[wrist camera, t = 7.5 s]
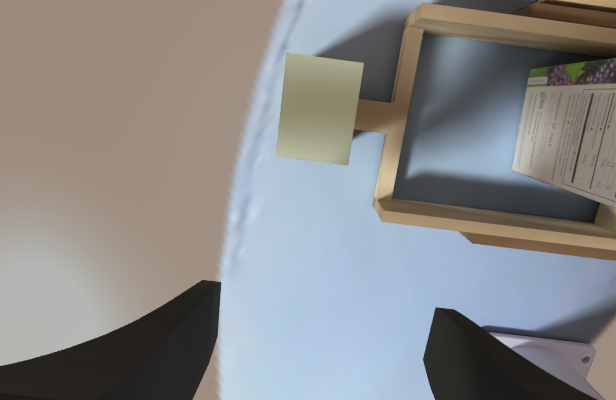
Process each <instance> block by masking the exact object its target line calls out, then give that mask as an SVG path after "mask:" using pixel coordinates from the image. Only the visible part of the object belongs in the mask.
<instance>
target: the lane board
mask: <svg viewBox="0 0 616 400" xmlns="http://www.w3.org/2000/svg"><path fill="white" fill-rule="evenodd" d="M512 15H518V16H525V17H533V18H540V19H547V20H555V21H562V22H569V23H577V24H584V25H591V26H599V27H606V28H613V29H616V13H609V12H602V11H594V10H587V9H580V8H573V7H565V6H558V5H551V4H543V3H536V2H535V3H532V4H530V5H528V6H526V7H524V8H521V9H519V10H517V11H515V12H512ZM459 232H460V233H461V234H462V235H463V236H465V237H466V238H467V239H468V240H469V241H470V242H471V243H474V244H482V245H491V246H499V247H507V248H515V249H523V250H532V251H540V252H548V253H556V254H564V255H573V256H581V257H589V258H597V259H605V260H614V261H616V250H608V249H600V248H592V247H584V246H576V245H568V244H559V243H551V242H543V241H535V240H527V239H519V238H510V237H502V236H494V235H486V234H478V233H470V232H461V231H459Z"/></svg>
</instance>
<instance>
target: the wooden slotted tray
mask: <svg viewBox="0 0 616 400" xmlns="http://www.w3.org/2000/svg"><path fill="white" fill-rule="evenodd" d="M423 33H426V34H433V35H441V36H448V37H456V38H463V39H470V40H478V41H485V42H493V43H500V44H508V45H515V46H523V47H530V48H537V49H545V50H552V51H560V52H567V53H575V54H582V55H590V56H597V57H605V58H616V29H613V28H606V27H599V26H591V25H584V24H577V23H569V22H562V21H555V20H547V19H540V18H533V17H525V16H518V15H511V14H503V13H496V12H489V11H481V10H474V9H466V8H459V7H452V6H444V5H437V4H430V3H422V4H421V5H420V6H419V7H418V8H417V9H415V10H414V11H413V12H412V13H411V14H410V15H409V16H408V17H407V18H406V21H405V26H404V32H403V38H402V43H401V49H400V54H399V60H398V66H397V71H396V77H395V83H394V88H393V94H392V99H391V103H389V102H381V101H373V100H366V99H359V92H360V86H361V79H362V73H363V66H364V63H360V62H353V61H345V60H338V59H330V58H322V57H315V56H307V55H300V54H292V53H286V63H285V73H284V82H283V92H282V102H281V112H280V122H279V131H278V141H277V151H276V156H279V157H287V158H295V159H303V160H311V161H318V162H326V163H334V164H342V165H348V163H349V157H350V150H351V144H352V137H353V131H354V129H355V130H363V131H370V132H378V133H385V139H384V144H383V150H382V156H381V161H380V167H379V172H378V178H377V184H376V189H375V195H374V200H373V207H374V209H375V211H376V212H377V214H378V216H379V217H380V219H381V221H382V222H388V223H396V224H404V225H412V226H421V227H429V228H437V229H445V230H453V231H461V232H470V233H478V234H486V235H494V236H502V237H510V238H519V239H527V240H535V241H543V242H551V243H559V244H568V245H576V246H584V247H592V248H600V249H608V250H616V208H614V207H611V206H608V205H606V204H603V203H600V206H599V209H598V212H597V215H596V217H595V220H594V223H589V222H580V221H572V220H564V219H556V218H548V217H540V216H532V215H524V214H516V213H508V212H500V211H492V210H484V209H476V208H468V207H460V206H451V205H443V204H435V203H427V202H419V201H411V200H403V199H395V198H392V194H393V189H394V183H395V178H396V173H397V168H398V162H399V157H400V152H401V147H402V141H403V136H404V131H405V126H406V121H407V115H408V110H409V105H410V100H411V94H412V89H413V84H414V79H415V73H416V68H417V63H418V58H419V53H420V47H421V42H422V37H423Z"/></svg>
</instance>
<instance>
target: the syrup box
mask: <svg viewBox="0 0 616 400" xmlns="http://www.w3.org/2000/svg"><path fill="white" fill-rule="evenodd" d="M512 170H513V171H515V172H517V173H520V174H523V175H525V176H528V177H531V178H534V179H537V180H539V181H541V182H545V183H547V184H550V185H553V186H555V187H558V188H561V189H563V190H566V191H569V192H572V193H575V194H578V195H581V196H583V197H586V198H588V199H591V200H594V201H597V202H600V203H603V204H606V205H608V206H611V207H614V208H616V58H611V59H603V60H595V61H588V62H580V63H572V64H564V65H556V66H548V67H540V68H532V69H531V70H530V73H529V77H528V82H527V87H526V93H525V98H524V104H523V109H522V114H521V119H520V125H519V130H518V136H517V142H516V148H515V154H514V160H513V165H512Z"/></svg>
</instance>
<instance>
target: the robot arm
mask: <svg viewBox="0 0 616 400" xmlns="http://www.w3.org/2000/svg"><path fill="white" fill-rule="evenodd" d="M220 292H221V282H215V281H207V280H202V281H200V282H199V283H197V284H196V285H194V286H192V287H191V288H189V289H188V290H187V291H185V292H183V293H182V294H180V295H179V296H177V297H175V298H174V299H172V300H171V301H169V302H168V303H166V304H164V305H163V306H161V307H159V308H157V309H156V310H154V311H152V312H150V313H148V314H147V315H145V316H143V317H141V318H140V319H138V320H136V321H134V322H132V323H130V324H128V325H126V326H123V327H121V328H119V329H117V330H114V331H112V332H110V333H108V334H105V335H103V336H100V337H98V338H95V339H92V340H89V341H87V342H84V343H81V344H78V345H76V346H73V347H70V348H67V349H64V350H61V351H57V352H54V353H51V354H47V355H44V356H40V357H36V358H33V359H29V360H26V361H22V362H17V363H13V364H8V365H4V366H0V400H192V399H193V397H194V395H195V393H196V391H197V389H198V386H199V384H200V382H201V380H202V378H203V375H204V373H205V371H206V369H207V366H208V364H209V361H210V358H211V355H212V352H213V349H214V346H215V342H216V339H217V336H218V322H219V307H220ZM594 356H595V349H594V348H593V347H592V346H591V345H590V344H587V343H579V342H570V341H561V340H553V339H544V338H536V337H527V336H519V335H510V334H501V333H493V332H487V331H485V330H484V329H483V328H481V327H480V326H478V325H477V324H476V323H474V322H473V321H471V320H470V319H468V318H467V317H465V316H464V315H462V314H461V313H459V312H457V311H456V310H453V309H445V308H436V309H435V313H434V317H433V321H432V325H431V329H430V333H429V337H428V341H427V345H426V350H425V354H424V358H423V361H424V365H425V369H426V373H427V377H428V380H429V384H430V387H431V390H432V393H433V395H434V398H435V400H605V399H604V398H603V397H602V396H601V395H600V394H599V393H598V392H597V391H596V390H595V389H594V388H593V387H592V386H591V385H590V384H589V383H588V382H587V381H586V380H585V379H586V376H587V373H588V371H589V369H590V366H591V363H592V361H593V358H594ZM584 357H585V358H584Z"/></svg>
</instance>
